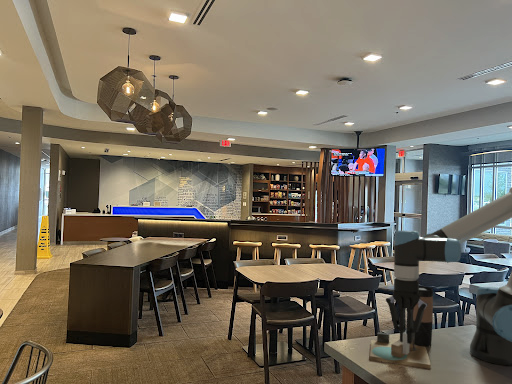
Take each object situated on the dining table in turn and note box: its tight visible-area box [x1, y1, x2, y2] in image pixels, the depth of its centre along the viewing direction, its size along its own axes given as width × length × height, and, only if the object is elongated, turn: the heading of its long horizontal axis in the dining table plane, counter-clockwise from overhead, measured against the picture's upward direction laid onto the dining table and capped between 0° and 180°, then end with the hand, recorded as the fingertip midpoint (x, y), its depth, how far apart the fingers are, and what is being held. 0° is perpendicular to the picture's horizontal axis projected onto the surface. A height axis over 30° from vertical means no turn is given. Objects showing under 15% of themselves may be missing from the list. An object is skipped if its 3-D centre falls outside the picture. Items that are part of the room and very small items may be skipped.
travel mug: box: [413, 285, 434, 348], centre depth 144 cm, size 8×8×20 cm
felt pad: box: [372, 347, 407, 360], centre depth 130 cm, size 11×11×1 cm
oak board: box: [369, 332, 432, 370], centre depth 132 cm, size 18×16×8 cm
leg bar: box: [391, 337, 414, 358], centre depth 130 cm, size 10×3×4 cm, turn 137°
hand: (406, 353), depth 127 cm, fingers closed
